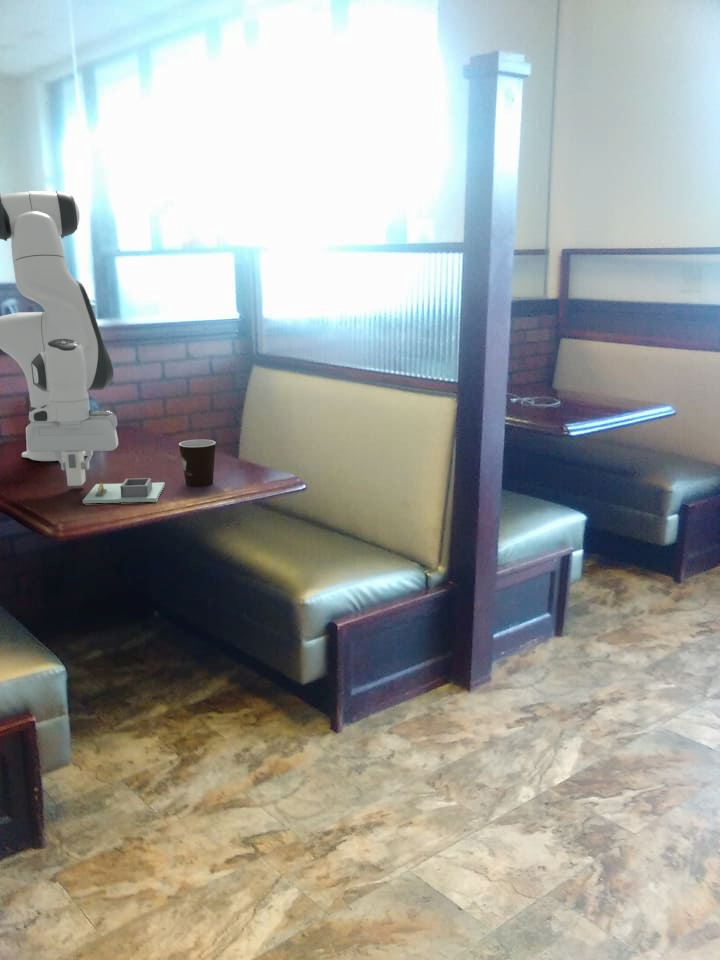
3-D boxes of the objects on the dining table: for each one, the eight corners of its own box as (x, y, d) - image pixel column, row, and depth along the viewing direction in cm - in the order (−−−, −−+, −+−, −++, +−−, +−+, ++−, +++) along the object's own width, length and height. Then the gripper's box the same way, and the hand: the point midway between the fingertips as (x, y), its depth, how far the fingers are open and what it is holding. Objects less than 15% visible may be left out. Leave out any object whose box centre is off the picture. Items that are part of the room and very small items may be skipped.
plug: (72, 480, 207) (68, 448, 205) (85, 480, 208) (82, 447, 206) (67, 486, 203) (63, 453, 200) (81, 486, 203) (78, 452, 201)
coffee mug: (216, 488, 206) (214, 446, 203) (179, 489, 205) (176, 447, 203) (219, 476, 217) (218, 436, 215) (184, 476, 216) (182, 437, 214)
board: (96, 488, 206) (95, 473, 206) (164, 486, 208) (164, 472, 207) (83, 504, 193) (81, 489, 192) (156, 502, 194) (155, 487, 193)
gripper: (118, 407, 205) (123, 464, 208) (28, 409, 203) (35, 466, 207) (113, 412, 199) (118, 471, 202) (21, 414, 197) (27, 473, 201)
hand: (75, 469), depth 205 cm, fingers closed on plug, 3 cm apart
